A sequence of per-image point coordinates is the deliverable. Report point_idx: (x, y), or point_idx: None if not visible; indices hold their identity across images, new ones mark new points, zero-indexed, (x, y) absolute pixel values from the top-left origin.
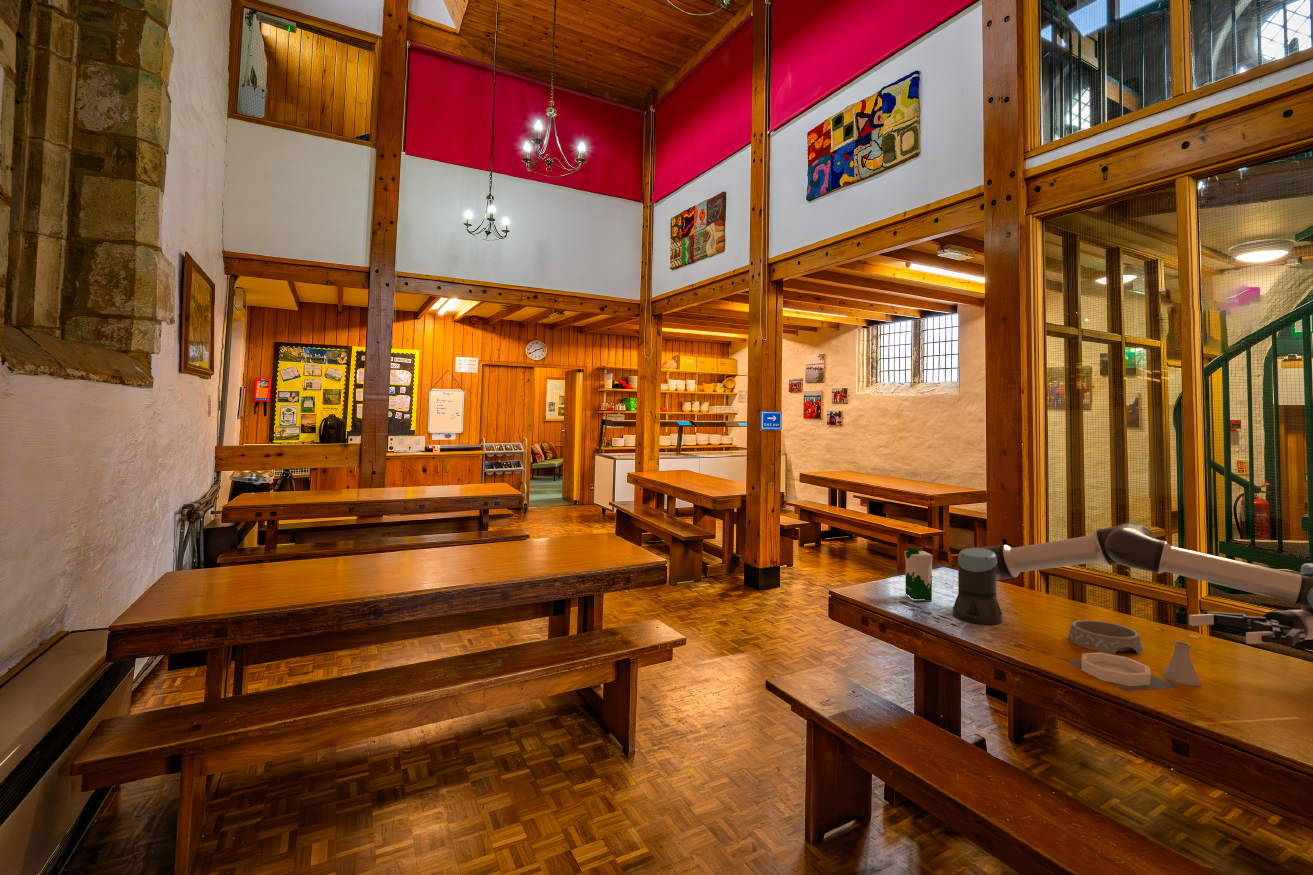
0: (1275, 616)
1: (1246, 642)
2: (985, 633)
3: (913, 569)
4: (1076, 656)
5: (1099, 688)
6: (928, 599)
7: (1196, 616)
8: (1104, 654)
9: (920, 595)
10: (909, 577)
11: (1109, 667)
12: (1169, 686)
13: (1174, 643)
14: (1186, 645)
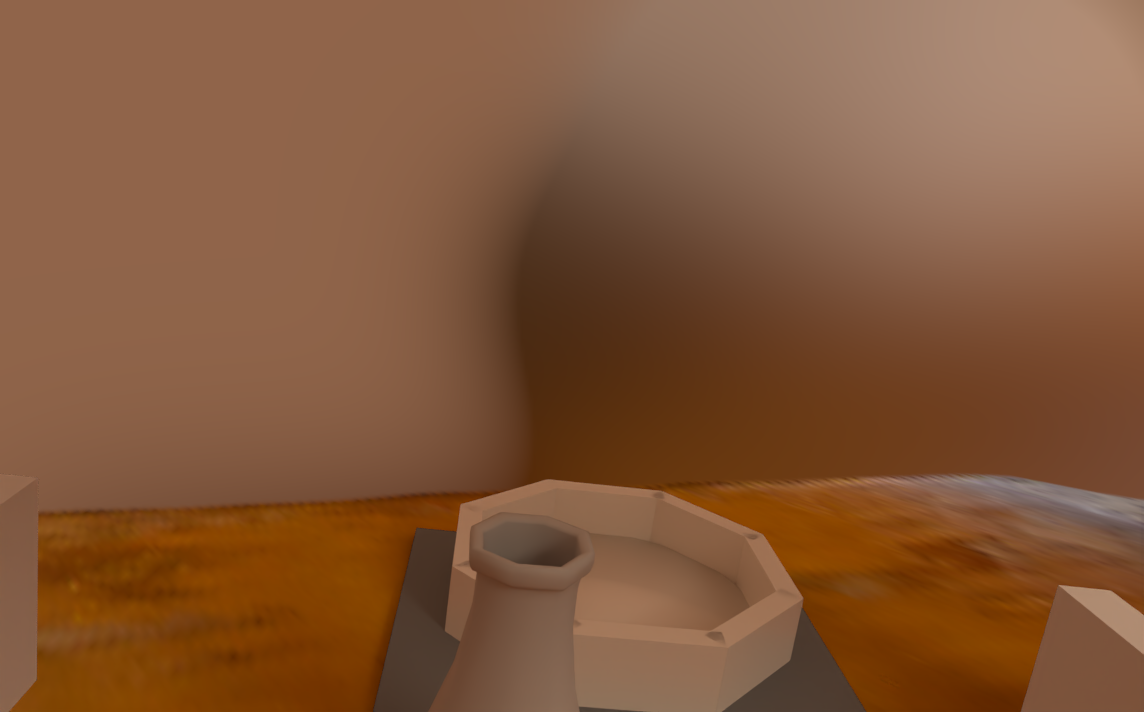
0: None
1: (28, 666)
2: (1105, 547)
3: None
4: (888, 644)
5: (469, 501)
6: None
7: (1115, 657)
8: (773, 595)
9: None
10: None
11: (674, 612)
12: (400, 692)
13: (552, 524)
14: (475, 529)
